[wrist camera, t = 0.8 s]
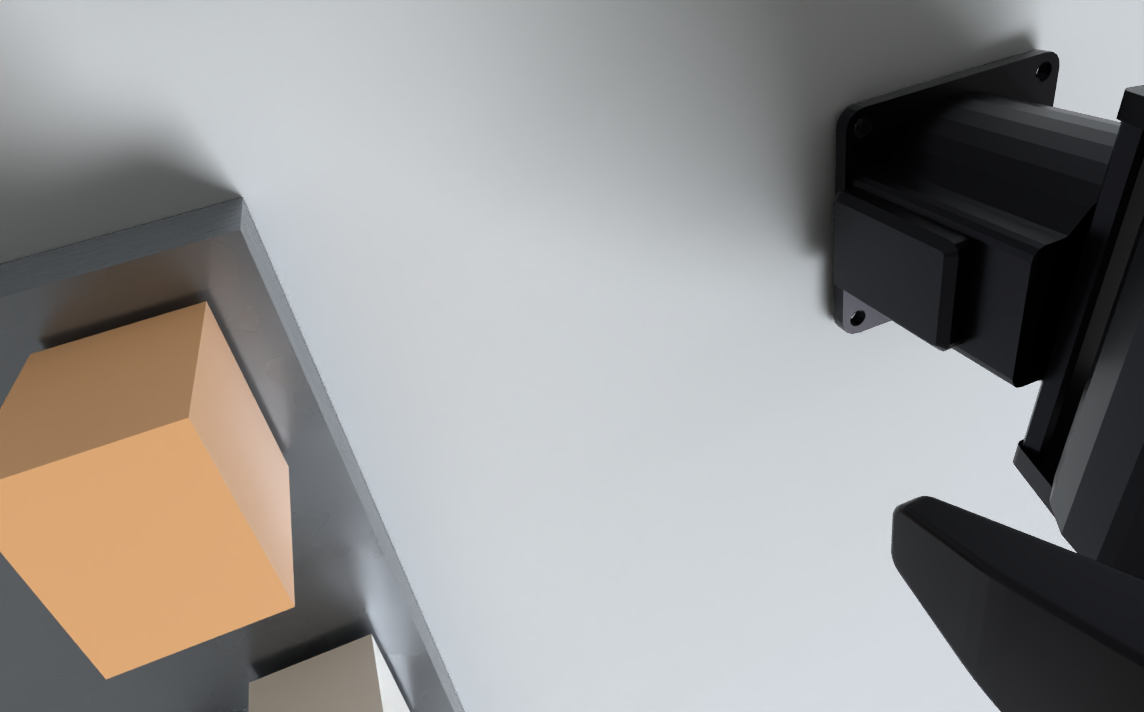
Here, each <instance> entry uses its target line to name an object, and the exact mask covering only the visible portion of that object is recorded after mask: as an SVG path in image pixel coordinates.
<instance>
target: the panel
mask: <svg viewBox="0 0 1144 712" xmlns="http://www.w3.org/2000/svg"><path fill="white" fill-rule="evenodd" d="M205 301H207V303H208V305H209V307H210V309H211V311H212V313H213V315H214V317H215V319H216V321H217V323H218V326H219V328H220V330H221V332H222V334H223V336H224V338H225V340H226V342H227V344H228V346H229V348H230V350H231V352H232V354H233V356H234V358H235V360H236V362H237V364H238V366H239V368H240V370H241V372H242V374H243V376H244V378H245V380H246V382H247V384H248V386H249V388H250V390H251V392H252V394H253V396H254V398H255V400H256V402H257V404H258V406H259V408H260V410H261V412H262V414H263V416H264V418H265V420H266V422H267V424H268V426H269V428H270V430H271V432H272V434H273V436H274V438H275V440H276V442H277V444H278V446H279V448H280V450H281V452H282V455H283V457H284V459H285V461H286V463H287V465H288V467H289V485H290V508H291V530H292V552H293V574H294V596H295V607H293V608H291V609H288V610H285V611H283V612H280V613H278V614H275V615H272V616H270V617H267V618H265V619H262V620H259V621H257V622H254V623H252V624H249V625H246V626H244V627H241V628H239V629H236V630H233V631H231V632H228V633H226V634H223V635H220V636H218V637H215V638H213V639H210V640H207V641H205V642H202V643H200V644H197V645H194V646H192V647H189V648H187V649H184V650H181V651H179V652H176V653H174V654H171V655H168V656H166V657H163V658H161V659H158V660H155V661H153V662H150V663H148V664H145V665H142V666H140V667H137V668H135V669H132V670H129V671H127V672H124V673H122V674H119V675H116V676H114V677H111V678H109V679H105V678H104V676H103V675H102V674H101V673H100V672H99V670H98V669H97V668H96V667H95V666H94V664H93V663H92V662H91V661H90V660H89V658H88V657H87V656H86V655H85V653H84V652H83V651H82V650H81V649H80V647H79V646H78V645H77V644H76V643H75V641H74V640H73V639H72V638H71V637H70V635H69V634H68V633H67V632H66V631H65V629H64V628H63V627H62V626H61V625H60V623H59V622H58V621H57V620H56V619H55V617H54V616H53V615H52V614H51V612H50V611H49V610H48V609H47V608H46V606H45V605H44V604H43V603H42V602H41V600H40V599H39V598H38V597H37V596H36V594H35V593H34V592H33V591H32V590H31V588H30V587H29V586H28V585H27V584H26V582H25V581H24V580H23V579H22V577H21V576H20V575H19V574H18V573H17V571H16V570H15V569H14V568H13V567H12V565H11V564H10V563H9V562H8V561H7V559H6V558H5V557H4V556H3V555H2V553H1V552H0V712H248V711H249V683H250V682H252V681H255V680H257V679H260V678H262V677H265V676H267V675H270V674H272V673H275V672H277V671H280V670H282V669H285V668H287V667H290V666H292V665H295V664H297V663H300V662H302V661H305V660H307V659H310V658H312V657H315V656H317V655H320V654H322V653H325V652H327V651H330V650H332V649H335V648H337V647H340V646H342V645H345V644H347V643H350V642H352V641H355V640H357V639H360V638H362V637H365V636H367V635H370V634H372V636H373V638H374V640H375V642H376V644H377V646H378V648H379V650H380V652H381V654H382V656H383V658H384V660H385V662H386V664H387V666H388V668H389V670H390V672H391V674H392V676H393V678H394V680H395V682H396V684H397V686H398V688H399V690H400V692H401V694H402V696H403V698H404V700H405V702H406V704H407V706H408V708H409V710H410V712H464V709H463V707H462V705H461V702H460V700H459V698H458V695H457V693H456V691H455V688H454V686H453V684H452V681H451V679H450V677H449V674H448V672H447V670H446V667H445V665H444V663H443V661H442V658H441V656H440V654H439V651H438V649H437V647H436V644H435V642H434V640H433V637H432V635H431V633H430V630H429V628H428V626H427V623H426V621H425V619H424V616H423V614H422V612H421V609H420V607H419V605H418V602H417V600H416V598H415V596H414V593H413V591H412V589H411V586H410V584H409V582H408V579H407V577H406V575H405V572H404V570H403V568H402V565H401V563H400V561H399V558H398V556H397V554H396V551H395V549H394V547H393V544H392V542H391V540H390V537H389V535H388V533H387V531H386V528H385V526H384V524H383V521H382V519H381V517H380V514H379V512H378V510H377V507H376V505H375V503H374V500H373V498H372V496H371V493H370V491H369V489H368V486H367V484H366V482H365V479H364V477H363V475H362V472H361V470H360V468H359V466H358V463H357V461H356V459H355V456H354V454H353V452H352V449H351V447H350V445H349V442H348V440H347V438H346V435H345V433H344V431H343V428H342V426H341V424H340V421H339V419H338V417H337V414H336V412H335V410H334V407H333V405H332V403H331V401H330V398H329V396H328V394H327V391H326V389H325V387H324V384H323V382H322V380H321V377H320V375H319V373H318V370H317V368H316V366H315V363H314V361H313V359H312V356H311V354H310V352H309V349H308V347H307V345H306V342H305V340H304V338H303V336H302V333H301V331H300V329H299V326H298V324H297V322H296V319H295V317H294V315H293V312H292V310H291V308H290V305H289V303H288V301H287V298H286V296H285V294H284V291H283V289H282V287H281V284H280V282H279V280H278V277H277V275H276V273H275V271H274V268H273V266H272V264H271V261H270V259H269V257H268V254H267V252H266V250H265V247H264V245H263V243H262V240H261V238H260V236H259V233H258V231H257V229H256V226H255V224H254V222H253V219H252V217H251V215H250V212H249V210H248V208H247V206H246V203H245V201H244V199H243V197H241V198H238V199H234V200H230V201H227V202H223V203H220V204H216V205H212V206H209V207H205V208H202V209H198V210H194V211H191V212H187V213H183V214H180V215H176V216H173V217H169V218H165V219H162V220H158V221H155V222H151V223H147V224H144V225H140V226H137V227H133V228H129V229H126V230H122V231H119V232H115V233H111V234H108V235H104V236H101V237H97V238H93V239H90V240H86V241H83V242H79V243H75V244H72V245H68V246H65V247H61V248H57V249H54V250H50V251H47V252H43V253H39V254H36V255H32V256H29V257H25V258H21V259H18V260H14V261H11V262H7V263H3V264H0V408H1V406H2V405H3V403H4V401H5V399H6V397H7V396H8V394H9V392H10V390H11V388H12V386H13V385H14V383H15V381H16V379H17V377H18V375H19V374H20V372H21V370H22V368H23V366H24V365H25V363H26V361H27V359H28V357H29V355H30V354H33V353H36V352H39V351H42V350H46V349H49V348H52V347H56V346H59V345H62V344H66V343H69V342H72V341H76V340H79V339H82V338H86V337H89V336H92V335H96V334H99V333H102V332H106V331H109V330H112V329H116V328H119V327H122V326H126V325H129V324H132V323H136V322H139V321H142V320H146V319H149V318H152V317H155V316H159V315H162V314H165V313H169V312H172V311H175V310H179V309H182V308H185V307H189V306H192V305H195V304H199V303H202V302H205Z"/></svg>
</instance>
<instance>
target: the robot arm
mask: <svg viewBox="0 0 1144 712" xmlns="http://www.w3.org/2000/svg"><path fill="white" fill-rule="evenodd" d="M1038 68H1039V69H1038ZM1037 69H1038V72H1037ZM1036 72H1037V74H1036ZM1058 72H1059V58H1058V56H1057V54H1055V53H1054V52H1051V51H1044V50H1032V51H1029V52H1026V53H1022V54H1019V55H1016V56H1012V57H1009V58H1006V59H1002V60H999V61H996V62H992V63H989V64H986V65H982V66H979V67H976V68H972V69H969V70H966V71H962V72H959V73H956V74H952V75H949V76H946V77H942V78H939V79H936V80H932V81H929V82H926V83H922V84H919V85H916V86H912V87H909V88H906V89H902V90H899V91H896V92H892V93H889V94H886V95H882V96H879V97H876V98H872V99H869V100H866V101H862V102H859V103H856V104H853V105H851V106H849V107H847V108H846V109H845V110H844V111H843V112H842V113H841V115H840V117H839V119H838V121H837V126H836V173H835V201H834V246H833V282H834V284H835V285H834V319H835V323H836V324H837V325H838V327H840V328H841V329H843V330H844V331H846V332H847V333H850V334H854V333H859V332H861V331H864V330H867V329H870V328H872V327H875V326H878V325H880V324H883V323H886V322H889V321H891V320H892V321H894V322H895V323H897V324H898V325H900V326H902V327H903V328H905V329H906V330H908V331H910V332H911V333H913V334H914V335H916V336H918V337H919V338H921V339H922V340H924V341H926V342H927V343H929V344H930V345H932V346H934V347H935V348H937V349H938V350H941V351H946V350H948V349H951V348H953V349H954V350H956V351H957V352H959V353H961V354H962V355H964V356H966V357H967V358H969V359H970V360H972V361H974V362H975V363H977V364H979V365H980V366H982V367H984V368H985V369H987V370H988V371H990V372H992V373H993V374H995V375H997V376H998V377H1000V378H1002V379H1003V380H1005V381H1006V382H1008V383H1010V384H1011V385H1013V386H1015V387H1016V388H1017V387H1023V386H1025V385H1028V384H1030V383H1033V382H1035V381H1038V380H1039V381H1041V382H1042V383H1041V386H1040V389H1039V393H1038V396H1037V399H1036V402H1035V406H1034V409H1033V412H1032V416H1031V419H1030V422H1029V425H1028V429H1027V432H1026V435H1025V438H1024V440H1021V441H1019V443H1018V447H1017V450H1016V453H1015V456H1014V460H1013V463H1014V465H1015V466H1016V468H1017V469H1018V470H1019V471H1020V473H1021V474H1022V475H1023V477H1024V478H1025V479H1026V481H1027V482H1028V483H1029V484H1030V486H1031V487H1032V488H1033V490H1034V491H1035V492H1036V494H1037V495H1038V496H1039V498H1040V499H1041V500H1042V501H1043V503H1044V504H1045V505H1046V507H1047V508H1048V509H1049V511H1050V512H1051V513H1052V514H1053V516H1054V517H1055V519H1056V521H1057V524H1058V527H1059V529H1060V532H1061V534H1062V536H1063V537H1064V538H1065V539H1066V540H1067V541H1068V543H1069V544H1070V545H1071V546H1072V547H1073V549H1074V550H1075V551H1076V552H1077V553H1078V554H1077V553H1075V552H1072V551H1070V550H1067V549H1064V548H1062V547H1059V546H1057V545H1054V544H1052V543H1049V542H1046V541H1044V540H1041V539H1039V538H1036V537H1034V536H1031V535H1028V534H1026V533H1023V532H1021V531H1018V530H1016V529H1013V528H1010V527H1008V526H1005V525H1003V524H1000V523H998V522H995V521H992V520H990V519H987V518H985V517H982V516H980V515H977V514H975V513H972V512H969V511H967V510H964V509H962V508H959V507H957V506H954V505H951V504H949V503H946V502H944V501H941V500H939V499H936V498H933V497H929V496H921V497H917V498H915V499H913V500H910V501H908V502H906V503H903V504H901V505H899V506H897V507H896V508H895V510H894V512H893V522H892V543H891V554H892V559H893V562H894V564H895V566H896V568H897V570H898V572H899V573H900V575H901V576H902V578H903V579H904V580H905V582H906V583H907V585H908V586H909V588H910V589H911V590H912V592H913V593H914V595H915V596H916V598H917V599H918V601H919V602H920V603H921V605H922V606H923V608H924V609H925V611H926V612H927V613H928V615H929V616H930V618H931V619H932V621H933V622H934V624H935V625H936V626H937V628H938V629H939V631H940V632H941V634H942V635H943V637H944V638H945V639H946V641H947V642H948V644H949V645H950V647H951V648H952V649H953V651H954V652H955V654H956V655H957V657H958V658H959V660H960V661H961V662H962V664H963V665H964V666H965V668H966V669H967V671H968V672H969V673H970V675H971V676H972V677H973V679H974V680H975V681H976V682H977V684H978V685H979V686H980V687H981V689H982V690H983V691H984V692H985V694H986V695H987V696H988V697H989V698H990V700H991V701H992V702H993V703H994V704H995V705H996V707H997V708H998V709H999V710H1000V711H1001V712H1144V85H1141V86H1135V87H1129V88H1126V89H1125V92H1124V95H1123V98H1122V102H1121V105H1120V108H1119V112H1118V115H1117V119H1118V120H1120V121H1121V122H1116V121H1112V120H1107V119H1103V118H1099V117H1094V116H1090V115H1086V114H1081V113H1077V112H1072V111H1068V110H1064V109H1059V108H1055V107H1053V103H1054V97H1055V91H1056V84H1057V78H1058ZM860 119H861V120H862V123H861V127H860V128H859V130H858V131H857V132H856V133H855V131H854V129H855V125H856V124H857V122H858V121H859V120H860ZM855 312H856V314H855V315H854V317H853V318H851V316H852V315H853V314H854V313H855Z"/></svg>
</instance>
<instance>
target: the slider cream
mask: <svg viewBox="0 0 1144 712" xmlns="http://www.w3.org/2000/svg"><path fill="white" fill-rule="evenodd" d="M248 712H410V710H409V708H408V706H407V704H406V702H405V700H404V698H403V696H402V694H401V692H400V690H399V688H398V686H397V684H396V682H395V680H394V678H393V676H392V674H391V672H390V670H389V668H388V666H387V664H386V662H385V660H384V658H383V656H382V654H381V652H380V650H379V648H378V646H377V644H376V642H375V640H374V638H373V636H372V634H370V635H367V636H365V637H362V638H360V639H357V640H355V641H352V642H350V643H347V644H345V645H342V646H340V647H337V648H335V649H332V650H330V651H327V652H325V653H322V654H320V655H317V656H315V657H312V658H310V659H307V660H305V661H302V662H300V663H297V664H295V665H292V666H290V667H287V668H285V669H282V670H280V671H277V672H275V673H272V674H270V675H267V676H265V677H262V678H260V679H257V680H255V681H252V682H250V683H249V711H248Z"/></svg>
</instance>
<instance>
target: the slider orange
mask: <svg viewBox="0 0 1144 712" xmlns="http://www.w3.org/2000/svg"><path fill="white" fill-rule="evenodd" d="M0 552H1V553H2V555H3V556H4V557H5V558H6V559H7V561H8V562H9V563H10V564H11V565H12V567H13V568H14V569H15V570H16V571H17V573H18V574H19V575H20V576H21V577H22V579H23V580H24V581H25V582H26V584H27V585H28V586H29V587H30V588H31V590H32V591H33V592H34V593H35V594H36V596H37V597H38V598H39V599H40V600H41V602H42V603H43V604H44V605H45V606H46V608H47V609H48V610H49V611H50V612H51V614H52V615H53V616H54V617H55V619H56V620H57V621H58V622H59V623H60V625H61V626H62V627H63V628H64V629H65V631H66V632H67V633H68V634H69V635H70V637H71V638H72V639H73V640H74V641H75V643H76V644H77V645H78V646H79V647H80V649H81V650H82V651H83V652H84V653H85V655H86V656H87V657H88V658H89V660H90V661H91V662H92V663H93V664H94V666H95V667H96V668H97V669H98V670H99V672H100V673H101V674H102V675H103V676H104V678H105V679H109V678H111V677H114V676H116V675H119V674H122V673H124V672H127V671H129V670H132V669H135V668H137V667H140V666H142V665H145V664H148V663H150V662H153V661H155V660H158V659H161V658H163V657H166V656H168V655H171V654H174V653H176V652H179V651H181V650H184V649H187V648H189V647H192V646H194V645H197V644H200V643H202V642H205V641H207V640H210V639H213V638H215V637H218V636H220V635H223V634H226V633H228V632H231V631H233V630H236V629H239V628H241V627H244V626H246V625H249V624H252V623H254V622H257V621H259V620H262V619H265V618H267V617H270V616H272V615H275V614H278V613H280V612H283V611H285V610H288V609H291V608H293V607H295V596H294V574H293V552H292V530H291V508H290V485H289V467H288V465H287V463H286V461H285V459H284V457H283V455H282V452H281V450H280V448H279V446H278V444H277V442H276V440H275V438H274V436H273V434H272V432H271V430H270V428H269V426H268V424H267V422H266V420H265V418H264V416H263V414H262V412H261V410H260V408H259V406H258V404H257V402H256V400H255V398H254V396H253V394H252V392H251V390H250V388H249V386H248V384H247V382H246V380H245V378H244V376H243V374H242V372H241V370H240V368H239V366H238V364H237V362H236V360H235V358H234V356H233V354H232V352H231V350H230V348H229V346H228V344H227V342H226V340H225V338H224V336H223V334H222V332H221V330H220V328H219V326H218V323H217V321H216V319H215V317H214V315H213V313H212V311H211V309H210V307H209V305H208V303H207V301H205V302H202V303H199V304H195V305H192V306H189V307H185V308H182V309H179V310H175V311H172V312H169V313H165V314H162V315H159V316H155V317H152V318H149V319H146V320H142V321H139V322H136V323H132V324H129V325H126V326H122V327H119V328H116V329H112V330H109V331H106V332H102V333H99V334H96V335H92V336H89V337H86V338H82V339H79V340H76V341H72V342H69V343H66V344H62V345H59V346H56V347H52V348H49V349H46V350H42V351H39V352H36V353H33V354H30V355H29V357H28V359H27V361H26V363H25V365H24V366H23V368H22V370H21V372H20V374H19V375H18V377H17V379H16V381H15V383H14V385H13V386H12V388H11V390H10V392H9V394H8V396H7V397H6V399H5V401H4V403H3V405H2V406H1V408H0Z"/></svg>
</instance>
